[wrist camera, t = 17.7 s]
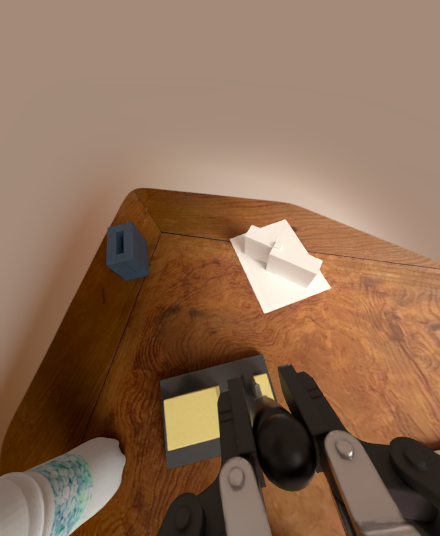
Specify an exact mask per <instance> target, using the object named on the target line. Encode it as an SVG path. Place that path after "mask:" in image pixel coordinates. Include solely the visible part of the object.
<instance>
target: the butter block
mask: <svg viewBox="0 0 440 536" xmlns="http://www.w3.org/2000/svg"><path fill="white" fill-rule="evenodd" d="M219 395H220V389H219V385H217V386H213V387H210V388H206V389H202V390H198V391H194V392H190V393H186V394H183V395H179V396H175V397H172V398H169V399H166V400H164V411H165V423H166V435H167V447H168V451H170V450H174V449H177V448H181V447H185V446H189V445H193V444H196V443H200V442H204V441H208V440H212V439H215V438H219V437H220V433H219V420H218V408H217V402H218V398H219Z"/></svg>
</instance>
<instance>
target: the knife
mask: <svg viewBox="0 0 440 536" xmlns="http://www.w3.org/2000/svg"><path fill="white" fill-rule="evenodd" d="M251 384H252V388H253V392H254V396H255V398H254V401H255V402H254V403H253V404H252V407H251V410H250V419H251V424H252V428H253V434H254V440H255V446H256V450H257V458H258V462H259V464H260V466H261V468H262V470H263V472H264V474H265V475H266V477H267V478H268V479H269V480H270V481H271V482H272V483H273V484H274V485H276V486H277V487H279V488H281V489H283V490H286V491H292V492H293V491H299V490H301V489H304V488H305V487H306V486H308V485H309V483H310V482H311V481H312V479H313V477H314V475H315V471H316V467H317V454H316V448H315V444H314V442H313V439H312V437H311V435H310V433H309V432H308V430H307V429H306V427H305V426H304V425H303V424H302V423H301V422H300V421H299V420H298V419H296V418H295V417H294V416H293V415H292V414H290V413H289V412H288V411H287V410H286V409H284V408H283V407H282V406H281V405H280V404H278V403H277V402H276V401H275V400H273V399H272V398H269V397H267V395H263V396H262V392H261V388H260V385H259V384H258V383H256V382H255V381H252V382H251Z"/></svg>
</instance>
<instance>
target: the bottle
mask: <svg viewBox="0 0 440 536" xmlns="http://www.w3.org/2000/svg"><path fill="white" fill-rule="evenodd" d="M125 462H126V458H125V455H123V454H122V453H121V451H120V448H119V441H117V440H116V439H110V438H103V437H98V438H94V439H92V440H90V441H87V442H85V443H83V444H81V445H79V446H78V447H76V448H74V449H72V450H71V451H69V452H67V453H65V454H63V455H61V456H58V457H56V458H54V459H51V460H49V461H47V462H45V463H42V464H40V465H38V466H36V467H33V468H31V469H29V470H27V471H24V472H22V473H20V472H15V473H9V474H5V475H3V476H1V477H0V536H69V535H70V534H71V533H72V532H73V531H74V530H75V529H76V528H78V527H79V526H80V525H81V524H83V523H84V522H85V521H87V520H88V519H89V518H91V517H92V516H93V515H94V514H96V513H97V512H98V511H99V510H100V509H101V508H103V507H104V506H105V504H106V503H107V502H108V501H109V500H110V499H111V497H112V496H113V495H114V494H115V492H116V491H117V489H118V488H119V486H120V484H121V481H122V477H121V476H122V471H123V467H124V465H125Z"/></svg>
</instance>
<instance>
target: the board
mask: <svg viewBox="0 0 440 536" xmlns="http://www.w3.org/2000/svg"><path fill="white" fill-rule="evenodd" d="M263 373H266V374H267V377H268V380H269V384H270V387H271V390H272V394H273V397H274V400H275V401H276V402H277V399H276V396H275V393H274V390H273V386H272V383H271V380H270V376H269V373H268V370H267V366H266V363H265V360H264V357H263V354H259V355H256V356H252V357H248V358H244V359H240V360H236V361H232V362H229V363H225V364H221V365H217V366H213V367H209V368H205V369H202V370H198V371H194V372H190V373H186V374H182V375H178V376H175V377H171V378H167V379H163V380H160V387H161V399H162V412H163V424H164V437H165V449H166V462H167V470H168V469H172V468H175V467H179V466H183V465H187V464H190V463H194V462H198V461H202V460H206V459H209V458H213V457H217V456H221V445H220V437H219V438H215V439H212V440H208V441H204V442H200V443H196V444H193V445H189V446H185V447H181V448H177V449H174V450H170V451H168V447H167V435H166V423H165V411H164V400H166V399H169V398H172V397H175V396H179V395H183V394H186V393H190V392H194V391H198V390H202V389H206V388H210V387H213V386H217V385H219V389H220V393H222V392H226V391H229V389H228V382H227V380H229V379H233V378H236V377H240V379H241V383H242V387H243V391H244V395H245V398H246V402H247V407H248V411H249V415H250V410H251V407H252V404H253V403H254V402H255V401H254V398H255V396H254V392H253V388H252V384H251V382H252V381H254V380H253V376H255V375H259V374H263ZM250 420H251V419H250Z"/></svg>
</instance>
